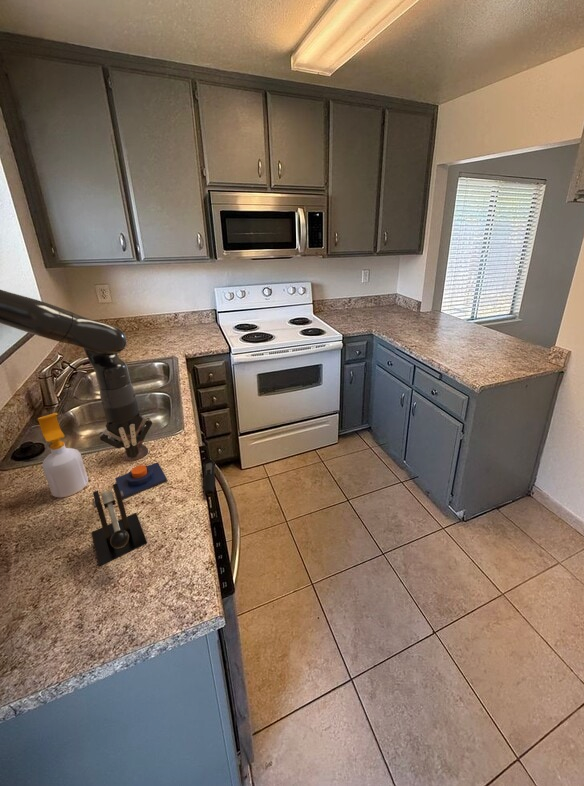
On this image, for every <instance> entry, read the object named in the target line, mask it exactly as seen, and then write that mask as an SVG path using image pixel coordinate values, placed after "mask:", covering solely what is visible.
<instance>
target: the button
mask: <svg viewBox="0 0 584 786" xmlns="http://www.w3.org/2000/svg"><path fill="white" fill-rule="evenodd" d="M146 466H147V465H144V464H140V465H137V466H135V467H133V468H132V469H131V470H132V471H131V470H130V471H131V473H132V477H133V478H135V479H136V478H141V477H143V476H145V475H146V474H147V468H146Z"/></svg>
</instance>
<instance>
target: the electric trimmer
mask: <svg viewBox="0 0 584 786" xmlns="http://www.w3.org/2000/svg"><path fill="white" fill-rule="evenodd" d="M216 465H217V463H216V461H215V460H214V459H212V458H209V459H206V460H205V461H204V463H203V466H202V467H203V480H202V485H203V492H204V495H211V494H214V493H215V487H216V481H217V480H216V475H215V466H216Z"/></svg>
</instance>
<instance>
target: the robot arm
mask: <svg viewBox="0 0 584 786" xmlns="http://www.w3.org/2000/svg"><path fill="white" fill-rule="evenodd" d="M0 324H1V325H5V326H8V327H11V328H13V329H16V330H18V331H19V330H20V331H23V332H24V333H25V332H26V333H29V334H32V335H35V336H38V337H42V338H45V339H47V340H48V339H49V340H52V341H56V342H59V343H64V344H70V345H74V346H77V347H80V348H83V349H82V350H83V351H84V353H85V355H86V357H87V359H88V362H89V363H90V365H91V367H92V369H93V371H94V373H95V378H96V381H97V382H96V383H97V385H98V388H99V397H100V401H101V406H102V409H103V413H104V416H105V420H106V424H105V429H104V430H103V431H101V432H99V434H98V437H99V440H100V441H102V442H104V443H106V444H108V445H109V446H112V447H114V448H116V449H118V450H120V449H122V448H124V451H125V450H126V454H127V457H128V458H129V457H131V459H132V458H135V457H137V454H139V451H138V447H137V443H138V442H139V441H143V439H144V437H145V438H146V435H147V434H148V432H149V430H151V429H150V428H151V427H152V425H153V421H152V420H151V418H149V417H146V418H145V417H144V416H143V415H142V414H140V413H141V412H140V410H139V406H138V401H137V397H136V392H135V388H134V386H133V384H132V381H131V376H130V372H129V367H128V365H127V363H126V362H125V361H124V360H123V359H122V358H120V356H119V354H120V353H121V352H123V351H124V350H125V348H126V346H127V342H128V341H127V336H126V334H125V333H124V331H123V330H122V329H120V327H116V326H114V325H111V324H108V323H105V322H102V321H99V320H95V319H91V318H88V317H85V316H82V315H79V314H78V313H75V312H73V311H71V310H67V309H65V308H62V307H59V306H57V305H54V304H52V303H48V302H45V301H41V300H39V299H36V298H31V297H28V296H24V295H21V294H17V293H14V292H10V291H7V290H3V289H0ZM142 416H143V417H142ZM141 422H142V423H141ZM140 424H142V427H141V429H140V430H139V432H138V434H137V436H136V433H135V432H136V431H137V430H138V428H139V426H140ZM111 434H113V435H115V436H116V437H117V436H118V437H121V438H122V441H119V440H118V437H117V438H115V437H113V436H112V435H111ZM127 435H129V437H130V442H131V443H129V442H128V439H127ZM144 440H145V439H144ZM143 442H144V441H143Z"/></svg>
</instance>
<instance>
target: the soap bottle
mask: <svg viewBox="0 0 584 786" xmlns="http://www.w3.org/2000/svg"><path fill="white" fill-rule="evenodd" d="M57 415H59V414H58V412H53V413H50V414H46V415H43V416H41V417H38V418H37V421H38V424H39V428H40V430H41V433H42V436H43V438H44V440H45V442H47V443H52V444H50V445H49V449H50V453H49V454H48V455H47V456H46V457H45V458H44V459H43V461H42V464H41V467H42V470H43V473H44V477H45V479H46V482H47V484H48V487H49V490H50V493H51V495H52V496H53V497H55V498H66V497H71V496H73V495H75V494H77V493H79V492H81V491H83V489H85V488H86V486H87V485H88V483H89V478H88V474H87V471H86V467H85V464H84V460H83V457H82V454H81V452H80V451H79V450H78V449H76V448H73V447H66V444H65V442H64V440H63V441H62V439H63V438H65V434H64V432H63V431H62V429H61V426H60V424H59V421H58V417H57Z"/></svg>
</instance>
